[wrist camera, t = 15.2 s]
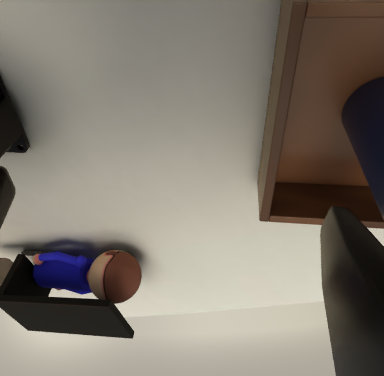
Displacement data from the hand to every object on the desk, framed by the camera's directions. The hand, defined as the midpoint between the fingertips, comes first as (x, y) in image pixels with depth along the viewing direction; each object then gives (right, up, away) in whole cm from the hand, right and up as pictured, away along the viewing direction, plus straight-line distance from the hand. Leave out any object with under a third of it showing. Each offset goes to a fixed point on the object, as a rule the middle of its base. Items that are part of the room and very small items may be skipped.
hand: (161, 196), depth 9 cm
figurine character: (-11, -7, +26) cm, 29 cm away
